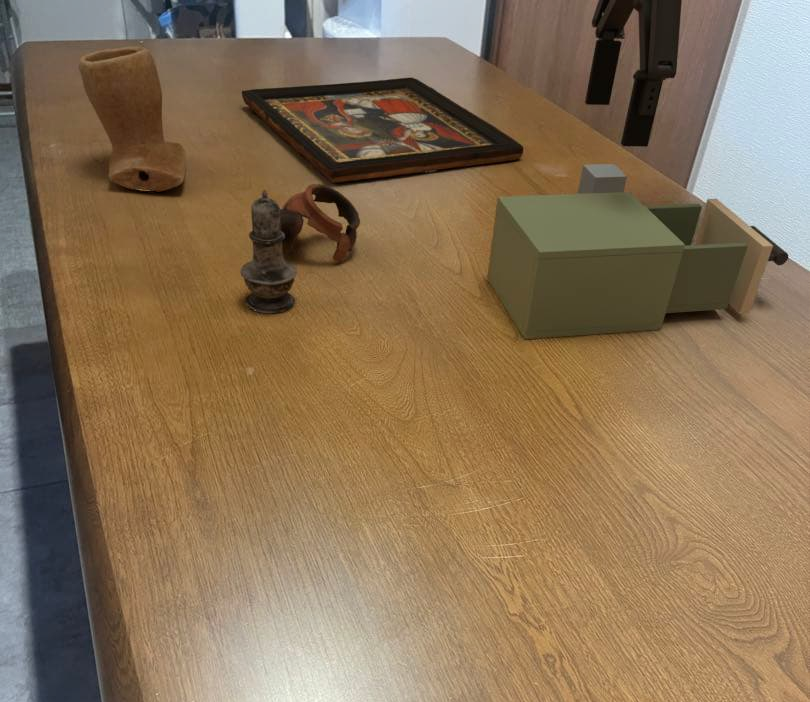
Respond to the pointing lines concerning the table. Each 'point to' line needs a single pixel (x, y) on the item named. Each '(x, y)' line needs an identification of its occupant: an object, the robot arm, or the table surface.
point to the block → (601, 179)
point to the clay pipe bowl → (132, 118)
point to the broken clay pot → (319, 218)
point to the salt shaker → (268, 261)
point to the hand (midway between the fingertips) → (614, 123)
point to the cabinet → (582, 264)
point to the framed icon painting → (379, 128)
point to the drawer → (716, 257)
